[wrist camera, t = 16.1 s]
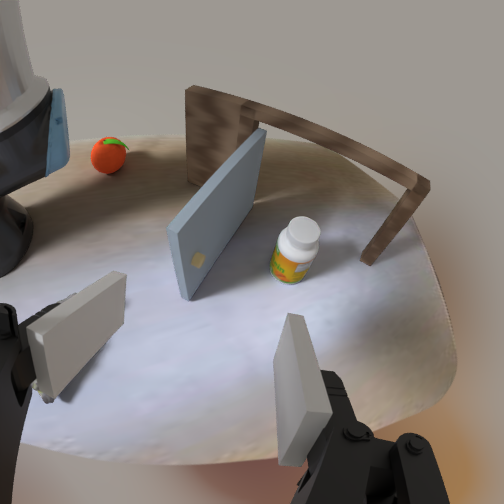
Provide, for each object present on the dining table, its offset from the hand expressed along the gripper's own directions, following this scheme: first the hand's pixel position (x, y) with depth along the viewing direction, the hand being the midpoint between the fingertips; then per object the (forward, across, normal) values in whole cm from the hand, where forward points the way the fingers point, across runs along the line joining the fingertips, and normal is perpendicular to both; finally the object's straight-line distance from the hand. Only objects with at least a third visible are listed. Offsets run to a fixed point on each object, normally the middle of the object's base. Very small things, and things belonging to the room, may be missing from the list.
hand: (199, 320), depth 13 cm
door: (+29, -2, -3) cm, 29 cm away
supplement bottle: (+29, +8, -4) cm, 30 cm away
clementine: (+39, -27, +5) cm, 47 cm away
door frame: (+35, +5, +3) cm, 36 cm away
